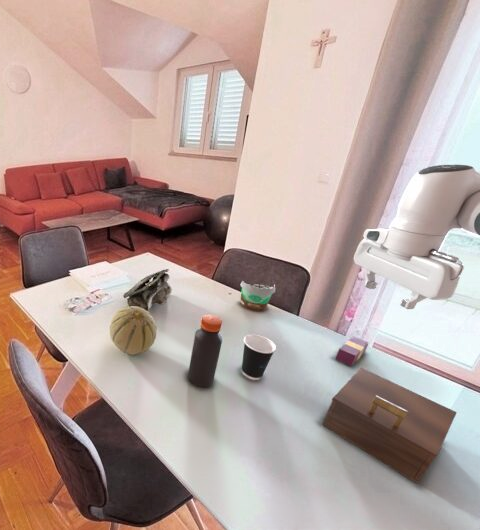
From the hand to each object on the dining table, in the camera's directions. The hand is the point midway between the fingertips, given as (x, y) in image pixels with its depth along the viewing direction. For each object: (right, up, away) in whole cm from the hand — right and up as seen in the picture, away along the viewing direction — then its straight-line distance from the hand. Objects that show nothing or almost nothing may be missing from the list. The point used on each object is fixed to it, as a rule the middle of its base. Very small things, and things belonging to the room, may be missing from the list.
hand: (386, 297), depth 74 cm
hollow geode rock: (-46, -8, +53) cm, 71 cm away
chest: (-3, -32, -1) cm, 32 cm away
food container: (-4, -10, +49) cm, 50 cm away
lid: (-4, -24, -5) cm, 25 cm away
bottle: (-39, -25, +15) cm, 48 cm away
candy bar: (+11, -21, +23) cm, 33 cm away
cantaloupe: (-56, -20, +27) cm, 65 cm away
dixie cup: (-23, -24, +16) cm, 37 cm away
